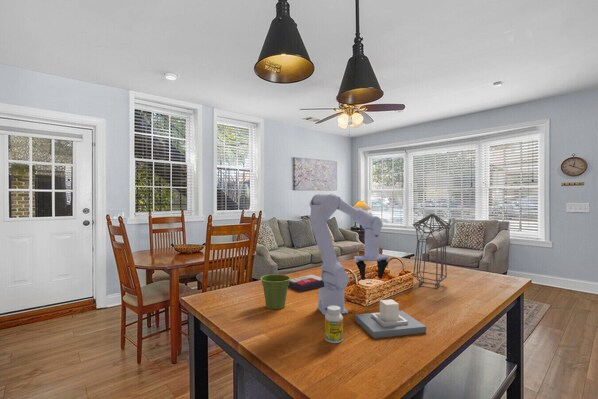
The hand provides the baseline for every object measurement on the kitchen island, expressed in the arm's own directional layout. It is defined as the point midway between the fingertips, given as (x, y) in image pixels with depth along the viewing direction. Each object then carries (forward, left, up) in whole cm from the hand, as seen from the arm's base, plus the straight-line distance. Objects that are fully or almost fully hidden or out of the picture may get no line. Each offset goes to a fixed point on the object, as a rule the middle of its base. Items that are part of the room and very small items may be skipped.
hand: (371, 278), depth 125 cm
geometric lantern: (+39, +15, -10) cm, 43 cm away
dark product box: (-20, +27, -10) cm, 35 cm away
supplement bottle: (-26, -28, -10) cm, 39 cm away
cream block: (-5, -23, -7) cm, 25 cm away
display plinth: (-5, -23, -9) cm, 25 cm away
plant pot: (-39, +3, -10) cm, 40 cm away
